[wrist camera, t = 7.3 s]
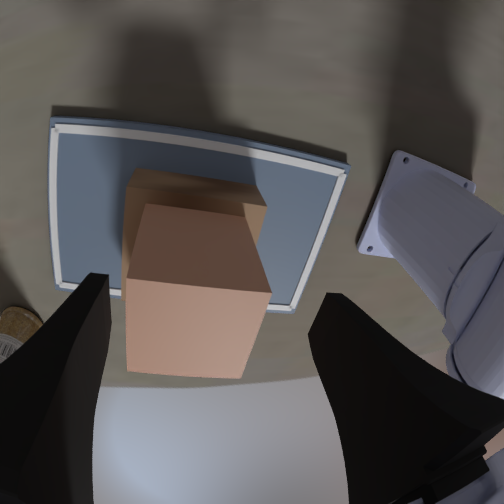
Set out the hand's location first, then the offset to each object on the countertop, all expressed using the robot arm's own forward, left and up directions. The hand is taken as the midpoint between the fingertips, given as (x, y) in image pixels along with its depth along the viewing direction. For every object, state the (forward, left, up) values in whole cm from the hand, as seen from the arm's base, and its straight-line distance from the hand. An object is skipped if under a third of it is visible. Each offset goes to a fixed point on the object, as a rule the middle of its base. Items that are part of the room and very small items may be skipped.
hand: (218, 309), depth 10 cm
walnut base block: (+1, +3, -10) cm, 11 cm away
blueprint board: (+1, +3, -10) cm, 11 cm away
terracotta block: (+1, +2, -7) cm, 7 cm away
